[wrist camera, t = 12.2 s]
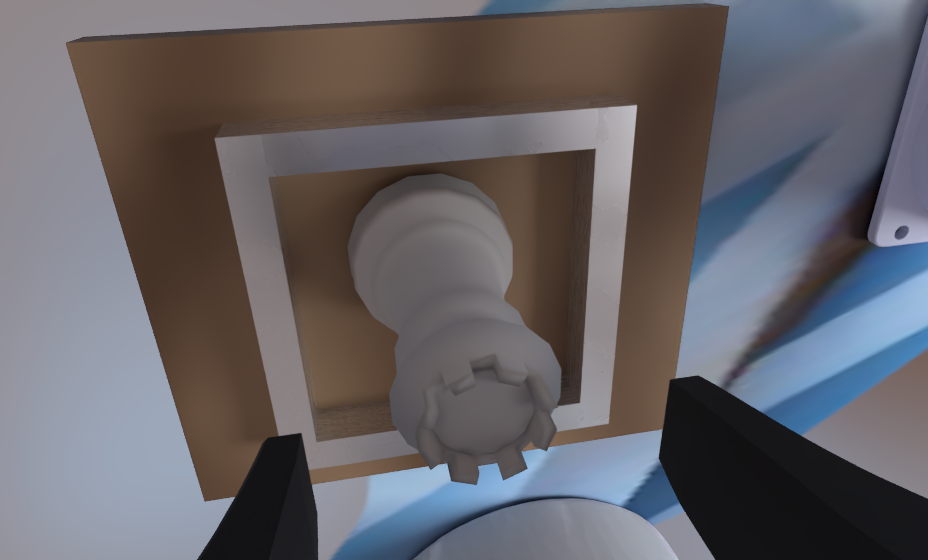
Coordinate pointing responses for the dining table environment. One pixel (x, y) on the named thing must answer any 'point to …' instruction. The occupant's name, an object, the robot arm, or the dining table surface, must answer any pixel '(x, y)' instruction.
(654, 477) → the dining table surface
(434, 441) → the rook chess piece
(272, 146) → the collar board
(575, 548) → the utensil holder
